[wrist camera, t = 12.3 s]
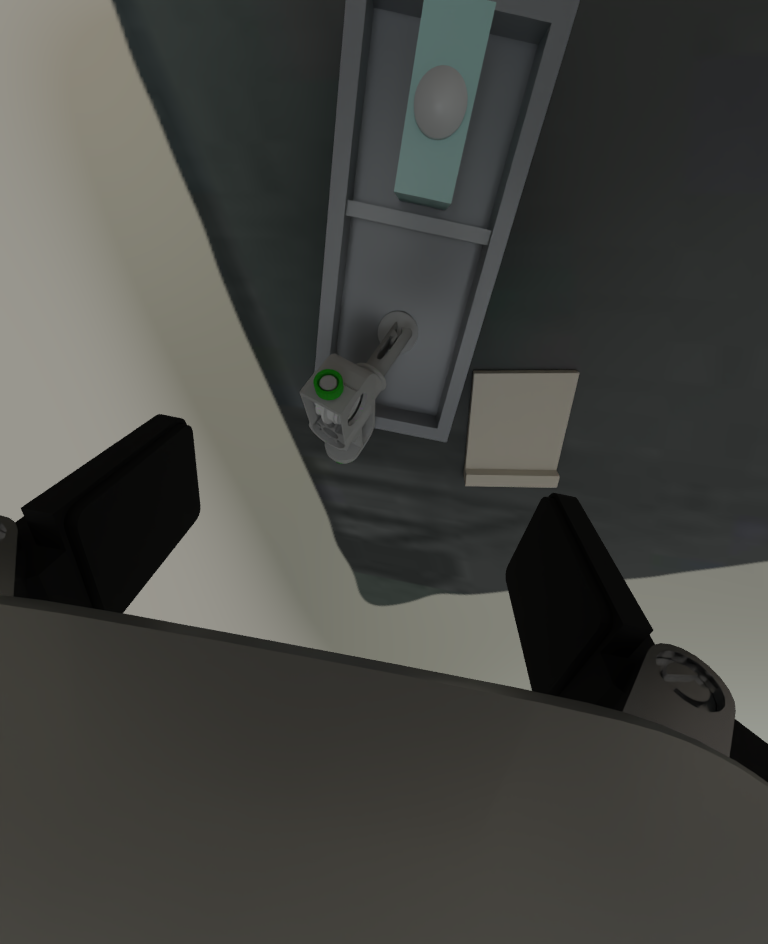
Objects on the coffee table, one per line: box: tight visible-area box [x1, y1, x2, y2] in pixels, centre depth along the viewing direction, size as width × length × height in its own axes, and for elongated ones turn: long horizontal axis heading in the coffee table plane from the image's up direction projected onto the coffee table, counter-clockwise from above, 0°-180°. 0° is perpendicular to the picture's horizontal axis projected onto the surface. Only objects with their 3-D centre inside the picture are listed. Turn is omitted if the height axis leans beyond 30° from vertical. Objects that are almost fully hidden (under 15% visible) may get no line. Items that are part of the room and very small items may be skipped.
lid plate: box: [464, 370, 579, 488], centre depth 32 cm, size 10×8×2 cm
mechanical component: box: [300, 322, 412, 464], centre depth 26 cm, size 3×10×10 cm
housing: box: [314, 0, 580, 442], centre depth 24 cm, size 24×11×8 cm, turn 170°
